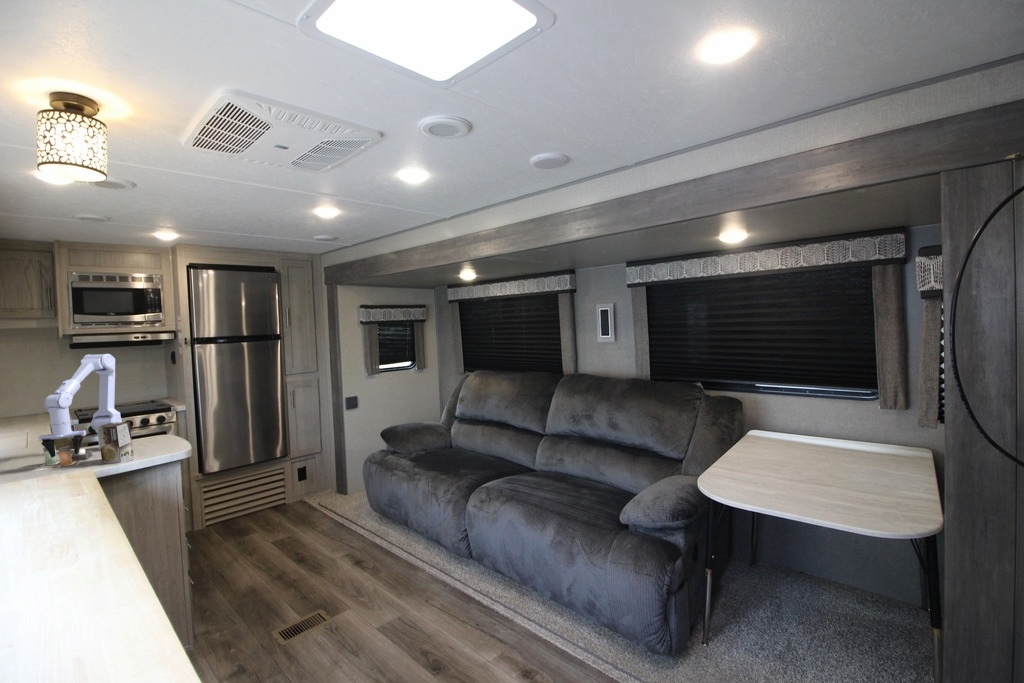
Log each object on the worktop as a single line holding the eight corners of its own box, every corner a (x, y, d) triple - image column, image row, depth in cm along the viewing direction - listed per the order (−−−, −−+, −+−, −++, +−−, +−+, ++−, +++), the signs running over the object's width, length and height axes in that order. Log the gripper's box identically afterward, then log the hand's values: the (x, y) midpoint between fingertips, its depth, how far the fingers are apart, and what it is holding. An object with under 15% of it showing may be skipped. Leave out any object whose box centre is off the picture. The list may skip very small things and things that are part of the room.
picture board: (92, 457, 208) (91, 450, 208) (79, 466, 196) (78, 459, 196) (45, 463, 202) (44, 456, 202) (28, 473, 190) (27, 466, 190)
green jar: (59, 461, 202) (57, 445, 201) (55, 463, 199) (52, 447, 198) (47, 462, 200) (45, 446, 200) (43, 465, 197) (41, 449, 196)
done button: (87, 454, 206) (86, 448, 206) (83, 457, 203) (83, 450, 203) (77, 456, 205) (76, 449, 205) (73, 458, 202) (72, 451, 202)
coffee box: (135, 458, 204) (130, 421, 202) (121, 464, 197) (116, 426, 196) (115, 459, 204) (110, 422, 203) (101, 464, 198) (96, 426, 197)
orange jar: (73, 462, 200) (71, 445, 199) (70, 464, 197) (68, 448, 196) (62, 463, 198) (60, 447, 198) (58, 466, 195) (56, 449, 194)
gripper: (32, 427, 189) (37, 461, 191) (79, 422, 195) (83, 454, 196) (41, 423, 196) (46, 455, 197) (86, 418, 201) (90, 450, 203)
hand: (65, 455), depth 197 cm, fingers open, 7 cm apart
